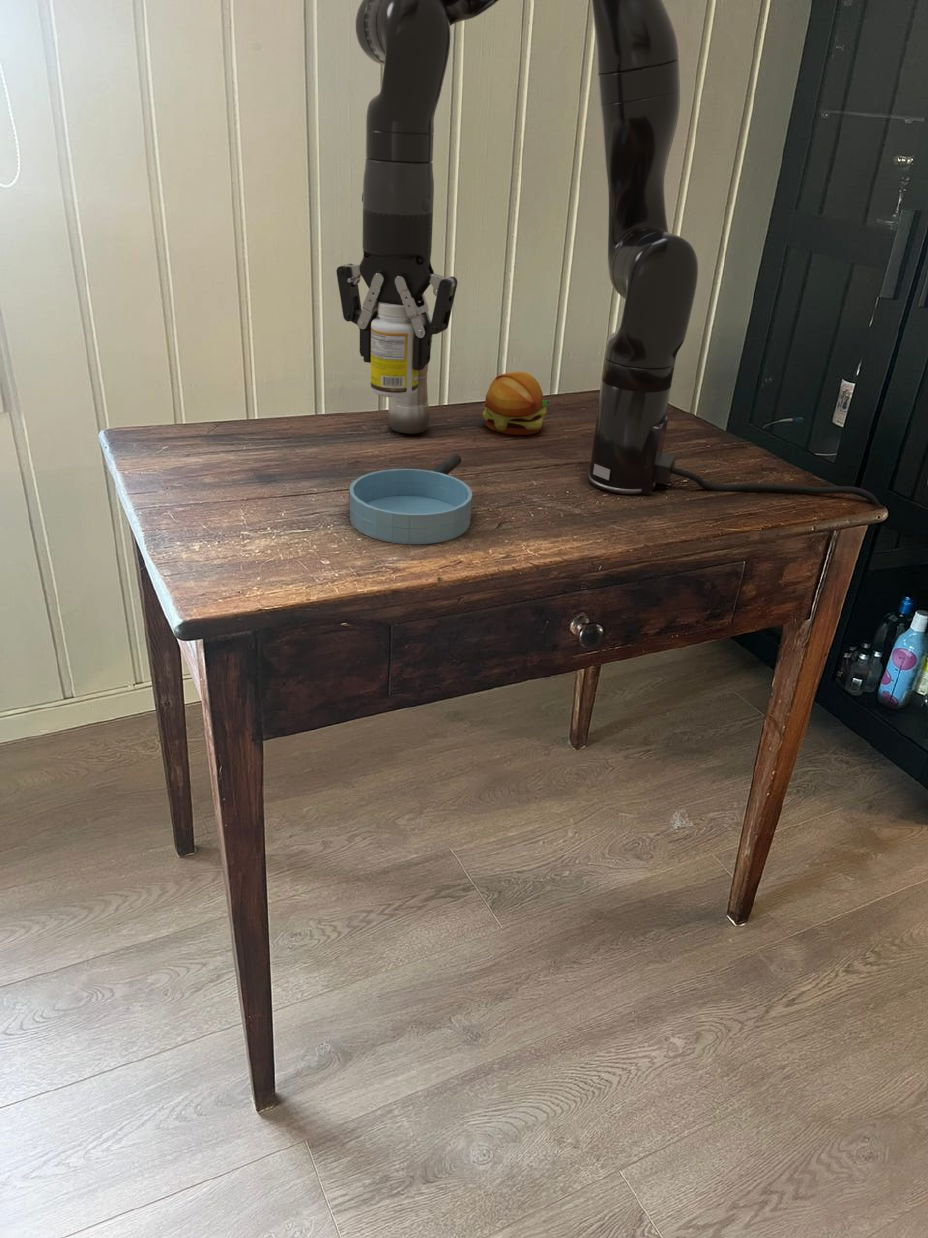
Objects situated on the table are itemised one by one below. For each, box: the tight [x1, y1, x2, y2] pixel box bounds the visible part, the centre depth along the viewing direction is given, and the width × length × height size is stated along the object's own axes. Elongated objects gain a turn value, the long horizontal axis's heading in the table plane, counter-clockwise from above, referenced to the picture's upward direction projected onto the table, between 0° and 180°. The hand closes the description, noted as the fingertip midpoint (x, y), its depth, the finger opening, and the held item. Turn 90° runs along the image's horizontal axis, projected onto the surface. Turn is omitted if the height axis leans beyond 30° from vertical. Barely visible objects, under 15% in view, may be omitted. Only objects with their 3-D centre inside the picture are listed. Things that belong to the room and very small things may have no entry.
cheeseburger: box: [482, 371, 550, 436], centre depth 150 cm, size 10×11×10 cm
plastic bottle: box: [387, 335, 434, 435], centre depth 143 cm, size 6×7×20 cm
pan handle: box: [432, 453, 462, 475], centre depth 126 cm, size 9×2×2 cm, turn 159°
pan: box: [348, 468, 473, 545], centre depth 117 cm, size 15×15×4 cm
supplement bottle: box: [370, 302, 419, 399], centre depth 109 cm, size 6×6×10 cm
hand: (394, 364), depth 109 cm, fingers closed on supplement bottle, 5 cm apart
